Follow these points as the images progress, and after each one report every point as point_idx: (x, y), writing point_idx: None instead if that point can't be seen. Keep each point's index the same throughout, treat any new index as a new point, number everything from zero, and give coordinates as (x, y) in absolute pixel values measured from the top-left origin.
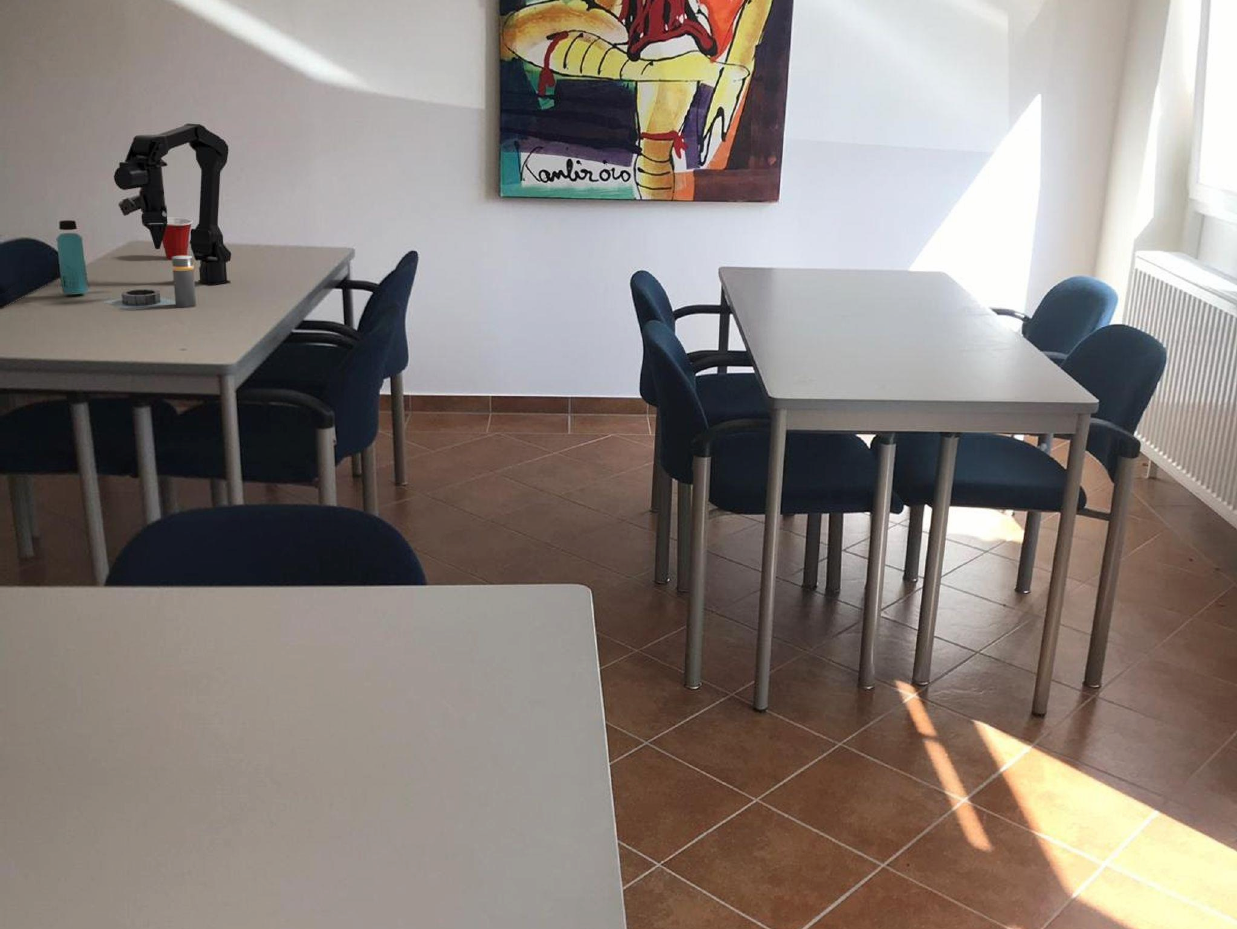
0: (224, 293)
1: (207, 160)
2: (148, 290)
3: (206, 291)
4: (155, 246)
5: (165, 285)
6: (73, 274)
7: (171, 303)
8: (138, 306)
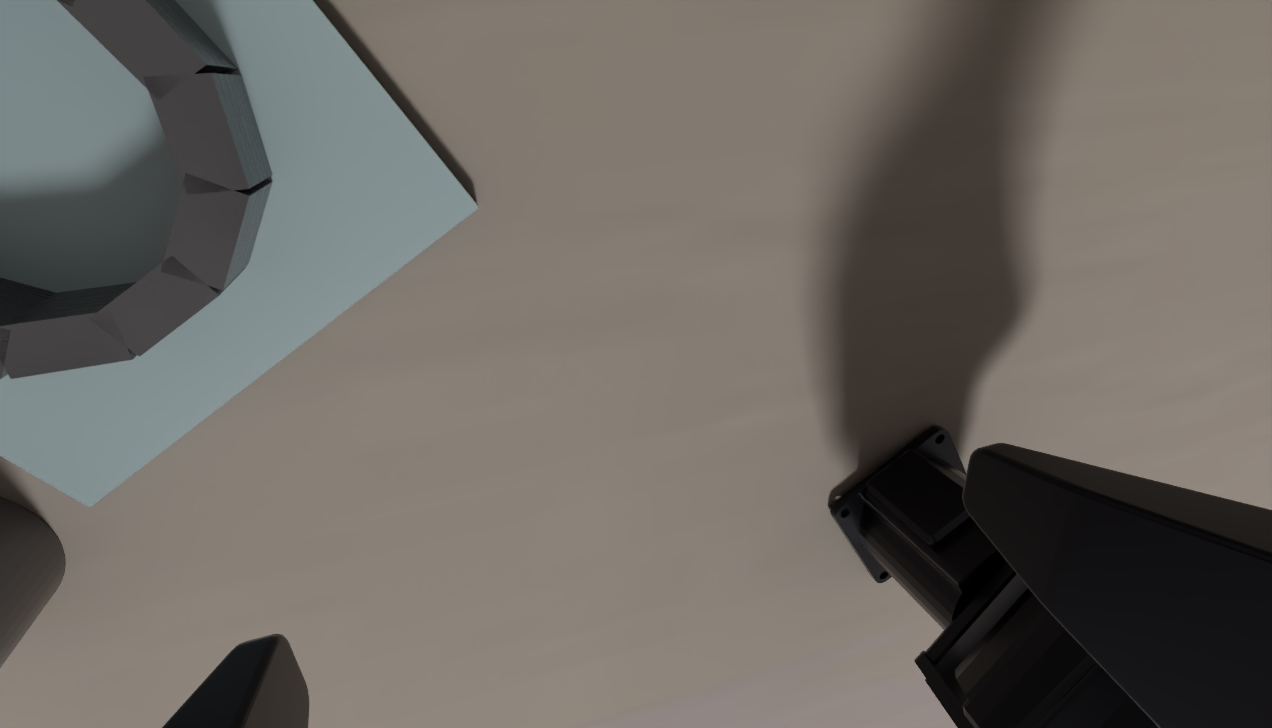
0: (591, 628)
1: None
2: (173, 229)
3: (665, 524)
4: (199, 706)
5: (909, 243)
6: None
7: (31, 441)
8: None
